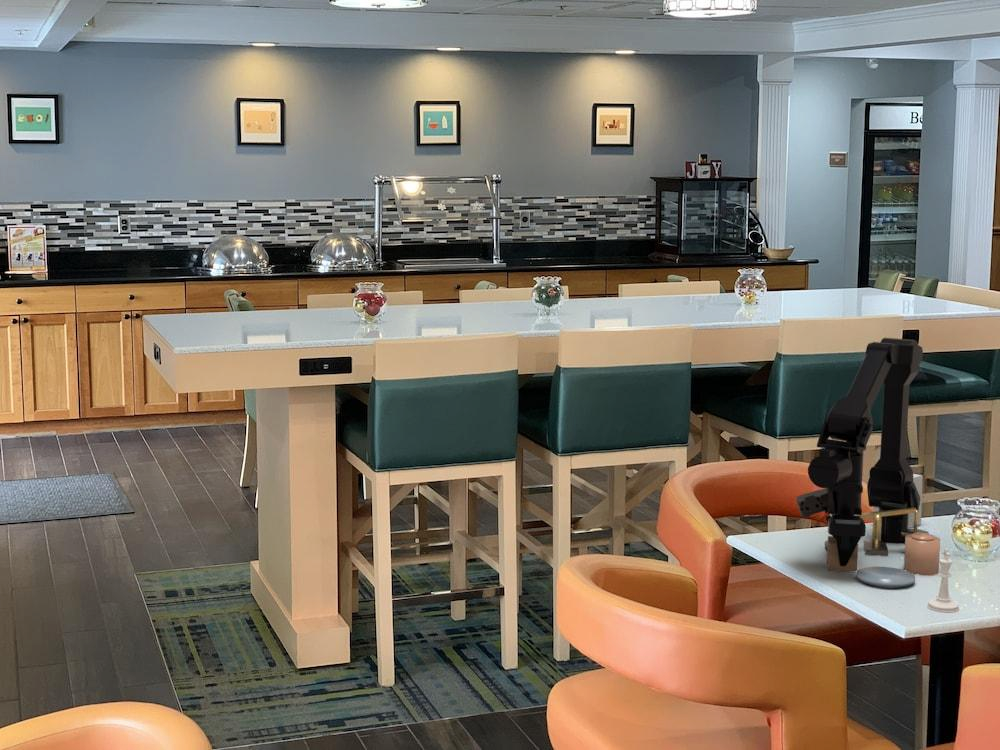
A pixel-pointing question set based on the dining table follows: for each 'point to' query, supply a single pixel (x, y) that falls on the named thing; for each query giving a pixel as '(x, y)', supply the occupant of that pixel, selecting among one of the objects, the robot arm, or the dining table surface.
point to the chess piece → (944, 588)
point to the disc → (885, 577)
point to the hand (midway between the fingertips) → (842, 561)
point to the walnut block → (834, 558)
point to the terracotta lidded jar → (922, 554)
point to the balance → (876, 545)
